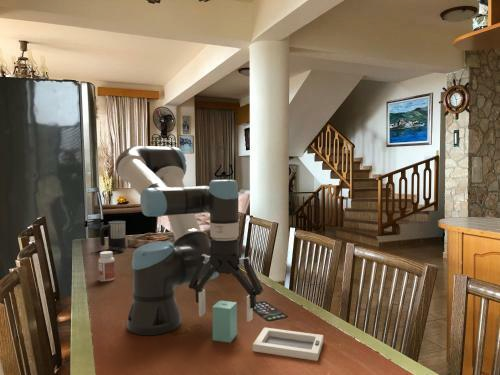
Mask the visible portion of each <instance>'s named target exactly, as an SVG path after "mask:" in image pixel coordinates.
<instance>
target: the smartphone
mask: <svg viewBox="0 0 500 375" xmlns="http://www.w3.org/2000/svg"><path fill="white" fill-rule="evenodd" d="M245 306H246V307H247V304H246V305H245ZM253 313H255V314H257V315H258V316H259V317H260V318H262V319H263V320H265V321H266V322H273V321H277V320H282V319H287V318H288V317H289V316H288V315H287V314H286V313H284V312H283V311H282V310H280V309H279V308H277V307H274V306H273V305H272V304H270V303H268V302H267V301H265V300H264V301H263V300H261V301H256V307H255V308H254V309H253Z"/></svg>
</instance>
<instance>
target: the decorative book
mask: <svg viewBox="0 0 500 375" xmlns="http://www.w3.org/2000/svg"><path fill="white" fill-rule="evenodd" d="M159 234H160V235H154V236H145V240H148V241H167V240H170V239H173V238H172V237H168V236H165V235H163V234H164V233H159Z"/></svg>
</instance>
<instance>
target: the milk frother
mask: <svg viewBox="0 0 500 375" xmlns="http://www.w3.org/2000/svg"><path fill="white" fill-rule="evenodd" d="M106 230H108V231H107V232H108V233H107V236H108V237H107V239H108V240H107V242H108V243H107V244H108V245H107V246H108V247H107V248H108V250H109V251H115V252H118V253H121V252H124V251H125V249H126V248H127V246H126V221H125V220H112V221H108V224H106V225H104V224H103V225H102V226H101V227H100V228H99V242H100V246H102V247H104V246H105V244H106V241H105V231H106Z"/></svg>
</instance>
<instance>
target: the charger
mask: <svg viewBox="0 0 500 375" xmlns="http://www.w3.org/2000/svg"><path fill="white" fill-rule="evenodd" d="M237 305H238V302H236V301H228V300H218V301H217V302H216V303H215V304H214V305H213V306H212V307H211V309H212V340H213V341H217V342H224V343H231V342H232V341H233V340H234V339H235V338H236V336H237V335H238V306H237Z"/></svg>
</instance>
